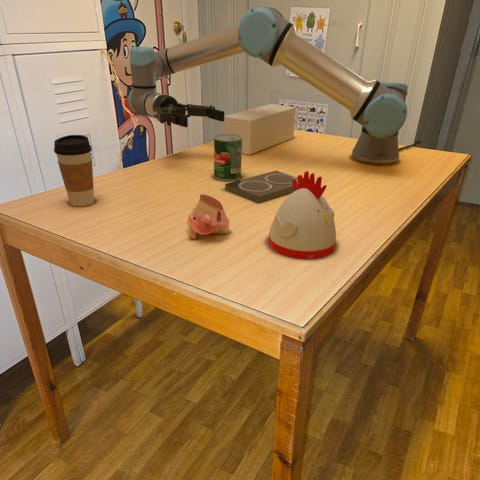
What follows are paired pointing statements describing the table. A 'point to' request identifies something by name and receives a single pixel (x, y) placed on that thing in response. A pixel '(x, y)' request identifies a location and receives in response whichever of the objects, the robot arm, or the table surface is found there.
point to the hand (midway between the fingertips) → (205, 119)
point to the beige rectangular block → (261, 126)
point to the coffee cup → (76, 168)
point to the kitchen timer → (304, 222)
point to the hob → (263, 186)
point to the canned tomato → (227, 157)
